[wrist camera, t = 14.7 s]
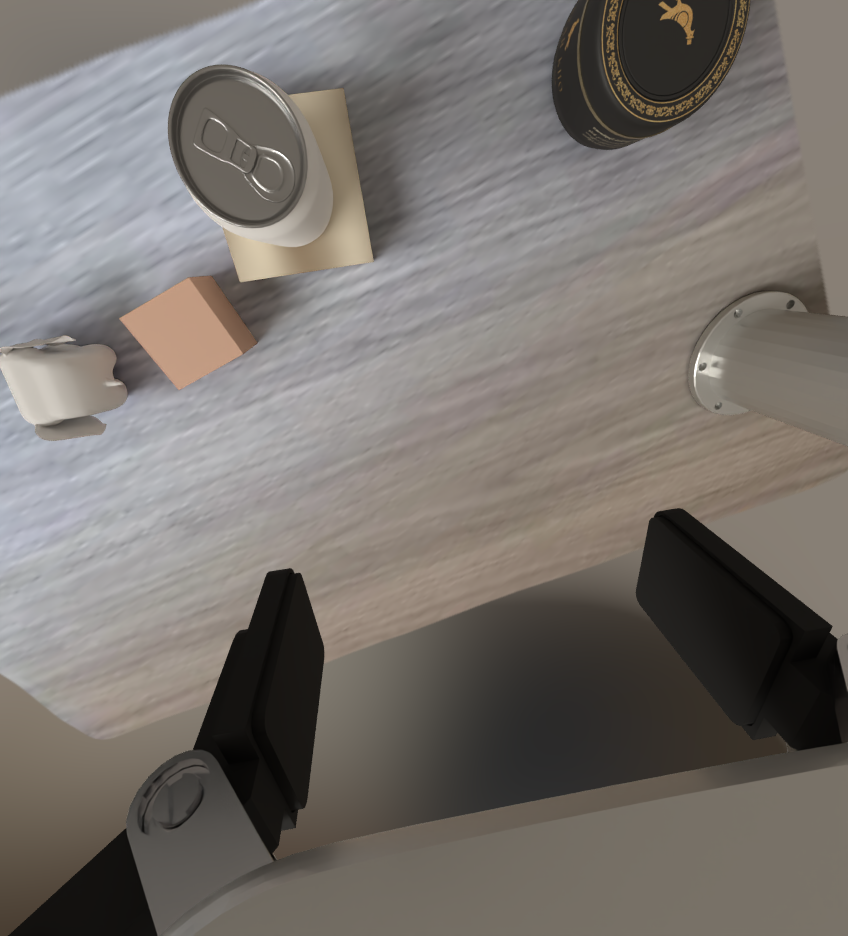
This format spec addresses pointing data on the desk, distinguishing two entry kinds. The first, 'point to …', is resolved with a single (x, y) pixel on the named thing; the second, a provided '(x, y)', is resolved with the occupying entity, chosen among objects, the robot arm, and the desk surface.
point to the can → (249, 157)
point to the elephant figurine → (62, 386)
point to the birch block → (348, 220)
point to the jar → (641, 65)
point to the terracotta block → (190, 330)
